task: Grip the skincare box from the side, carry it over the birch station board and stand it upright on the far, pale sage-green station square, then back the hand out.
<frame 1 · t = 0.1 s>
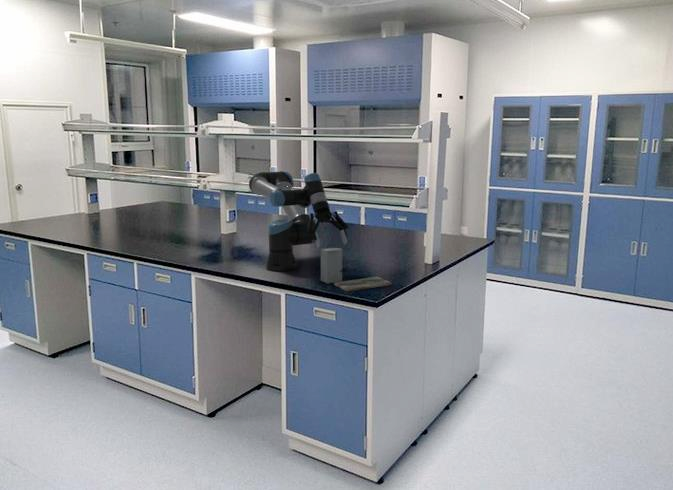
hand: (332, 245, 248), 15 cm above the table, tool tilted 35°, fingers open, 13 cm apart
station board: (362, 284, 239), on the table
skincare box: (331, 281, 245), on the table
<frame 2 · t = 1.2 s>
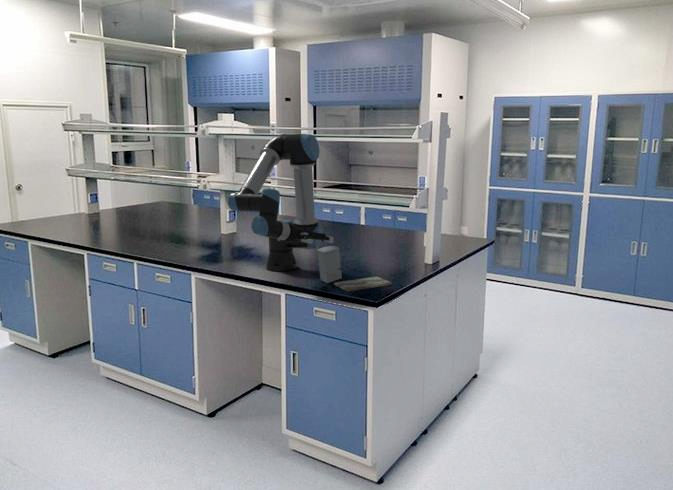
hand: (322, 240, 244), 18 cm above the table, tool tilted 70°, fingers open, 13 cm apart
skincare box: (331, 279, 245), point 1 cm above the table
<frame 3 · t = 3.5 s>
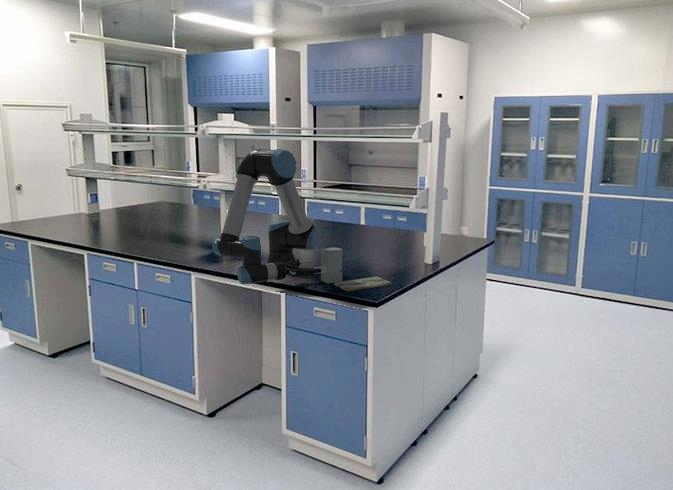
hand: (319, 265, 240), 8 cm above the table, tool horizontal, fingers open, 13 cm apart
skincare box: (331, 281, 245), on the table
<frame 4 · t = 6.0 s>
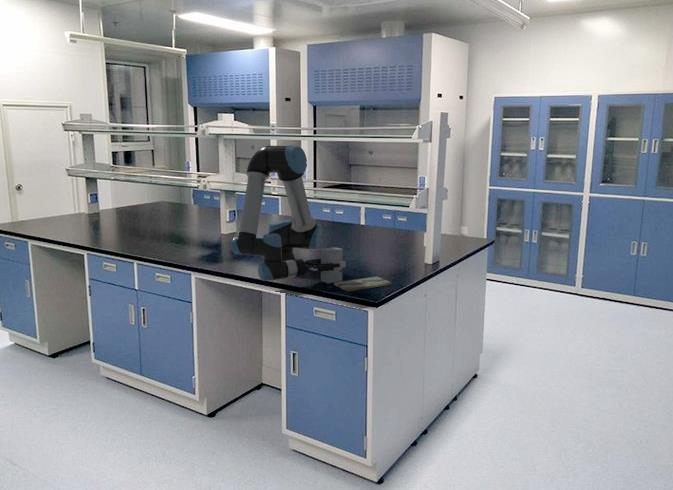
hand: (341, 262, 246), 8 cm above the table, tool horizontal, fingers closed on skincare box, 6 cm apart
skincare box: (331, 281, 245), on the table, touching gripper
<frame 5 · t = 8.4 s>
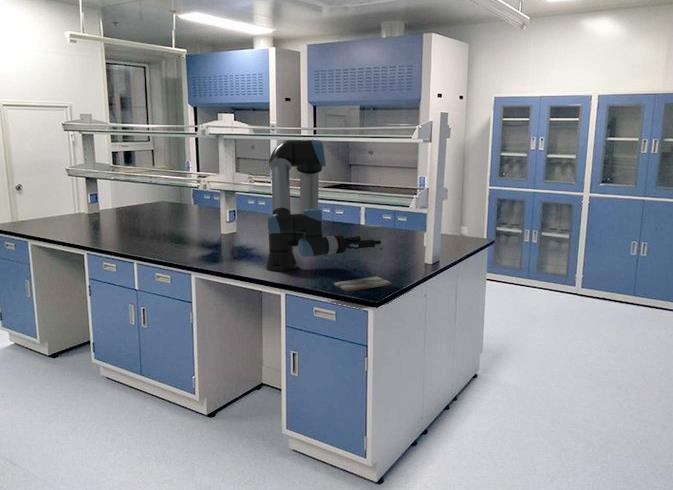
hand: (381, 239, 239), 19 cm above the table, tool horizontal, fingers closed on skincare box, 6 cm apart
skincare box: (371, 259, 238), point 11 cm above the table, touching gripper
when the fingers open (11 cm above the table, at t = 10.4 s): skincare box drops 1 cm, resting on station board.
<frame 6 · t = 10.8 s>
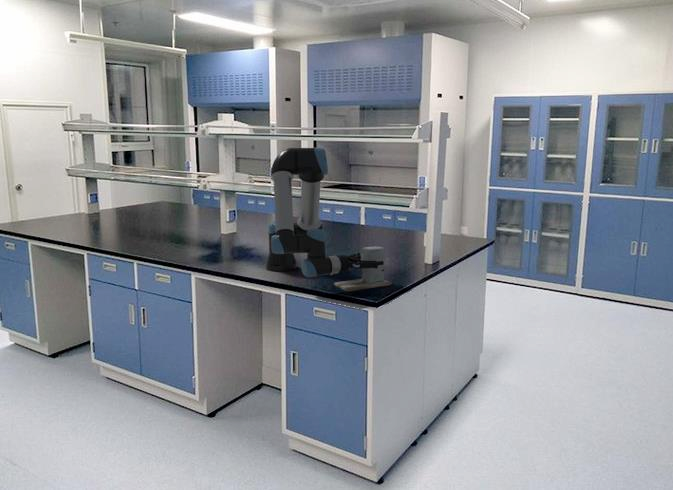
hand: (380, 258, 241), 11 cm above the table, tool horizontal, fingers open, 11 cm apart
skincare box: (373, 280, 241), point 1 cm above the table, touching station board
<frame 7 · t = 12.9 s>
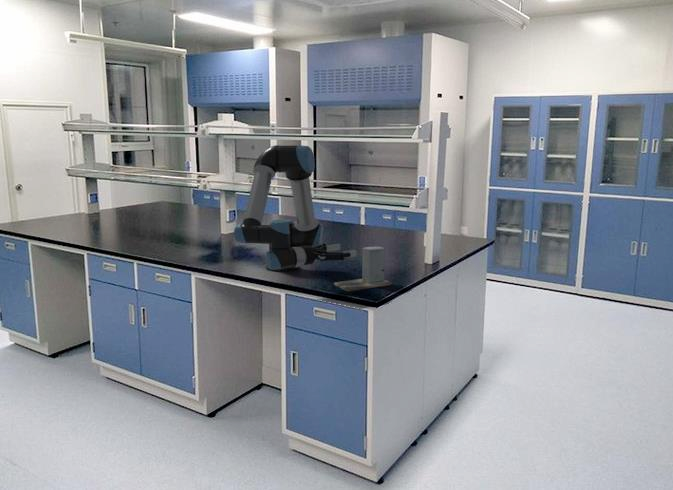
hand: (347, 249, 234), 16 cm above the table, tool horizontal, fingers open, 13 cm apart
nothing on the table moved.
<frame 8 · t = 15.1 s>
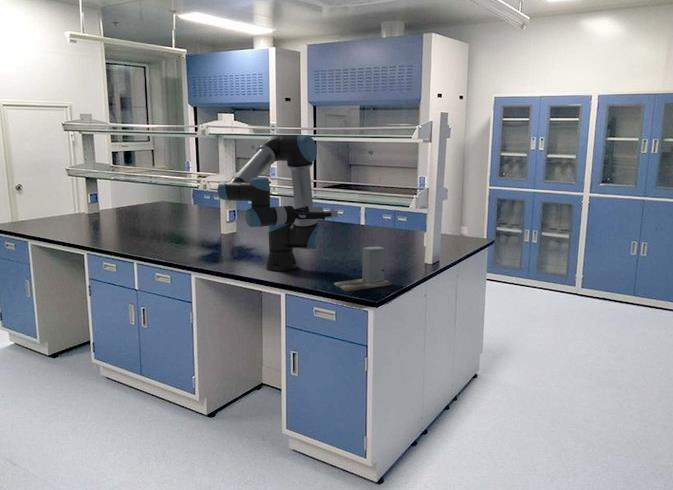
hand: (329, 211, 234), 32 cm above the table, tool horizontal, fingers open, 13 cm apart
nothing on the table moved.
at the end: skincare box inside the target area on the station board (0.4 cm from its centre), point 0.9 cm above the station board's base; skincare box tilted 0°; the gripper is holding nothing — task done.
